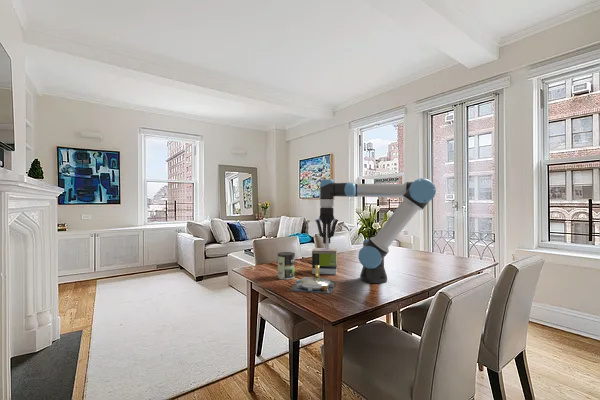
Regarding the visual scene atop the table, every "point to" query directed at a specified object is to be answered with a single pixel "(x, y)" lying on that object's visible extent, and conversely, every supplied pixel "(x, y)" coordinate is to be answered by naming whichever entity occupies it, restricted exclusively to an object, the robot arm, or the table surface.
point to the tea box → (324, 260)
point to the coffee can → (286, 265)
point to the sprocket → (314, 282)
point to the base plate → (328, 291)
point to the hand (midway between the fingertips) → (326, 249)
